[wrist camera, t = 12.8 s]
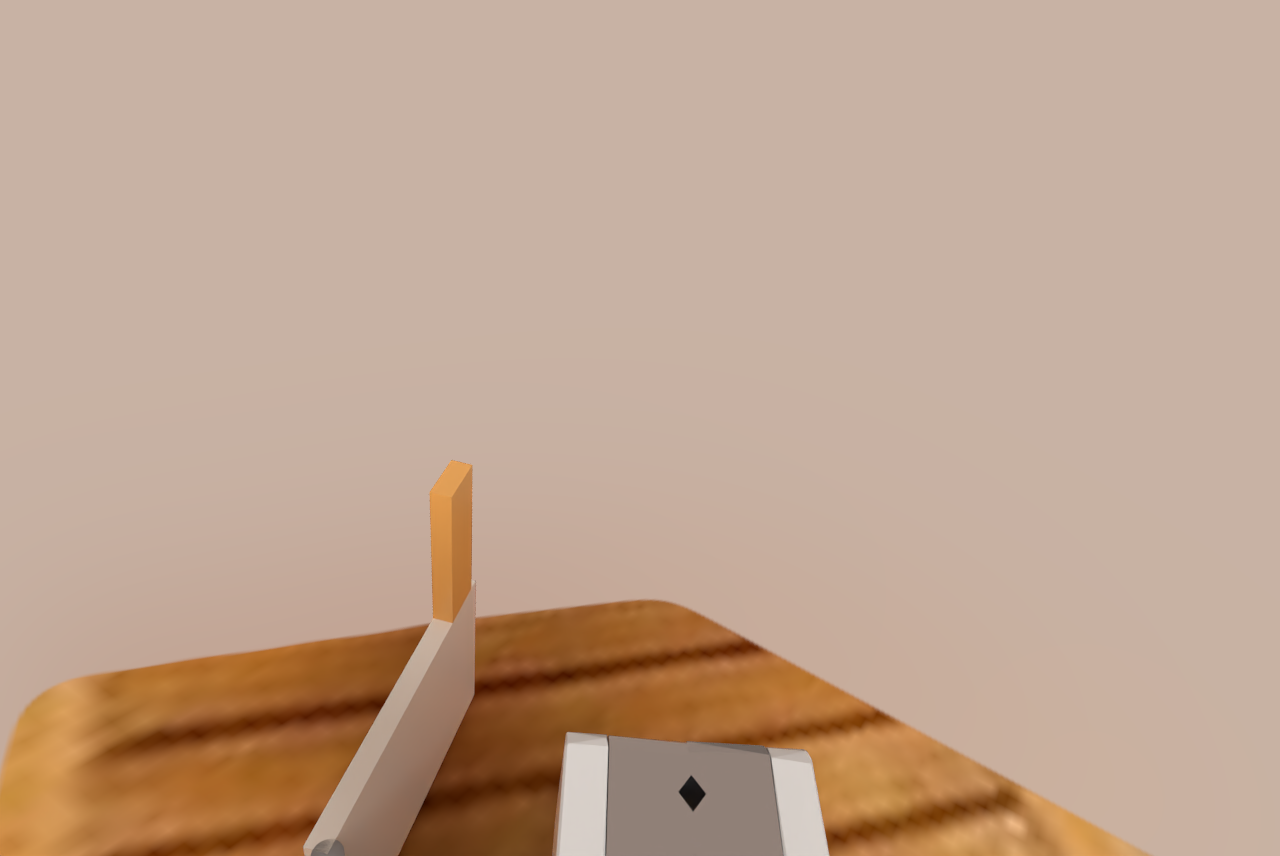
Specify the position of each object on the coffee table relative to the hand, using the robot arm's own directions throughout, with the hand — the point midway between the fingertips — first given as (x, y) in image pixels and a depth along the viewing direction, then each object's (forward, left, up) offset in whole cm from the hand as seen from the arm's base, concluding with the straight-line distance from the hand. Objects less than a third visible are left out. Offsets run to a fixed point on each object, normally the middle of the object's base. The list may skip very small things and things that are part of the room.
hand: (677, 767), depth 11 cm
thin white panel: (-3, -20, -33) cm, 39 cm away
